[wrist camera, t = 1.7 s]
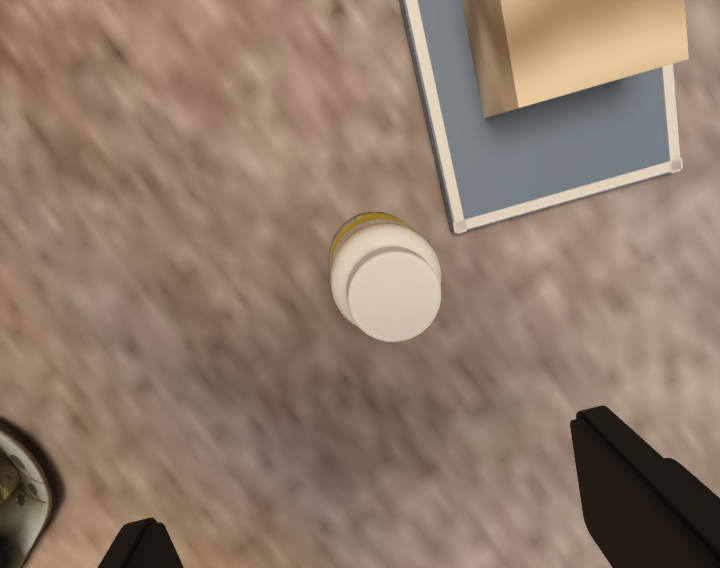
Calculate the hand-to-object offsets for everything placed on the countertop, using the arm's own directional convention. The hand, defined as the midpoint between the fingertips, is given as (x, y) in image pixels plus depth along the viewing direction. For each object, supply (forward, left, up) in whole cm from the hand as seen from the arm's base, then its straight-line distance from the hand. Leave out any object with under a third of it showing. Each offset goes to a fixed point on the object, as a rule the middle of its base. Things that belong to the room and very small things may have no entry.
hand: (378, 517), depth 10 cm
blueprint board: (-11, +14, -19) cm, 26 cm away
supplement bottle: (-2, +2, -20) cm, 20 cm away
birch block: (-12, +14, -18) cm, 26 cm away
